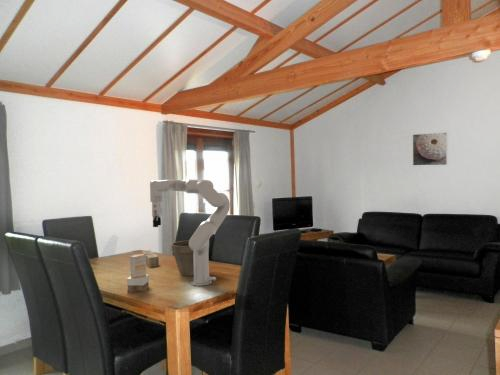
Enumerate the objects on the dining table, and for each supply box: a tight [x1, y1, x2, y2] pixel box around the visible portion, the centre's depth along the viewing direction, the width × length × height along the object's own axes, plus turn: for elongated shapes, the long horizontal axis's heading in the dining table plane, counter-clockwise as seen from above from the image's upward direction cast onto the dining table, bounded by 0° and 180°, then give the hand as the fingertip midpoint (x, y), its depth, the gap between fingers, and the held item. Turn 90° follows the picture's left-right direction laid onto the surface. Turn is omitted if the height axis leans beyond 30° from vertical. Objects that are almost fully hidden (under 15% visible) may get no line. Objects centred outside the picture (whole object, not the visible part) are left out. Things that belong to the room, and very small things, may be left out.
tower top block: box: [126, 274, 150, 286], centre depth 241 cm, size 10×10×4 cm
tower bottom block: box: [127, 281, 149, 292], centre depth 241 cm, size 10×10×4 cm
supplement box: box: [129, 253, 147, 278], centre depth 241 cm, size 8×5×13 cm, turn 135°
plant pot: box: [170, 239, 194, 277], centre depth 278 cm, size 25×25×22 cm
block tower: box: [140, 250, 160, 268], centre depth 316 cm, size 8×8×29 cm
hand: (157, 226), depth 255 cm, fingers open, 9 cm apart
